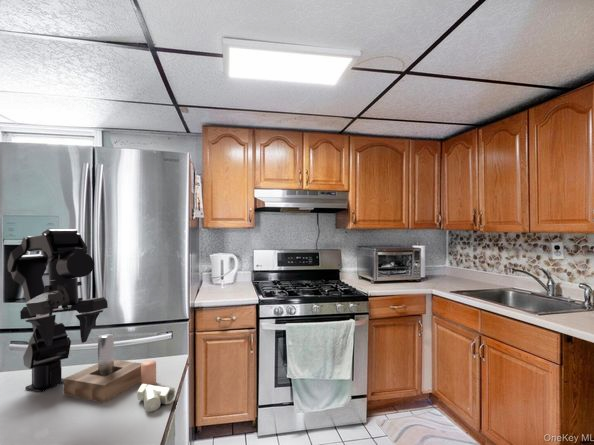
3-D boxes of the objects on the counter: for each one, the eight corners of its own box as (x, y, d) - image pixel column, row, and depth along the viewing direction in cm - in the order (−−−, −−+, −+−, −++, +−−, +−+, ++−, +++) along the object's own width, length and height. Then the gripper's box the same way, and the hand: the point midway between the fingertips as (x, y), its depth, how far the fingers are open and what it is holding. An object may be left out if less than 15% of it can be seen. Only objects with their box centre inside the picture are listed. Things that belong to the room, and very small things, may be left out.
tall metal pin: (95, 390, 83) (95, 339, 84) (101, 383, 87) (101, 334, 87) (111, 388, 84) (110, 337, 84) (116, 382, 88) (115, 333, 88)
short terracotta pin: (138, 386, 85) (138, 365, 85) (148, 380, 89) (148, 360, 89) (149, 388, 84) (149, 366, 84) (159, 382, 87) (159, 361, 88)
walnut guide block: (63, 394, 81) (63, 378, 81) (108, 372, 94) (108, 358, 94) (104, 402, 77) (104, 385, 77) (145, 378, 90) (145, 363, 90)
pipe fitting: (155, 417, 72) (175, 399, 78) (154, 400, 72) (174, 383, 78) (126, 412, 74) (148, 395, 81) (125, 395, 74) (147, 380, 80)
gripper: (-4, 286, 74) (-2, 358, 72) (73, 278, 72) (76, 350, 71) (39, 282, 85) (42, 343, 83) (107, 274, 83) (110, 337, 82)
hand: (66, 344), depth 80 cm, fingers open, 9 cm apart
